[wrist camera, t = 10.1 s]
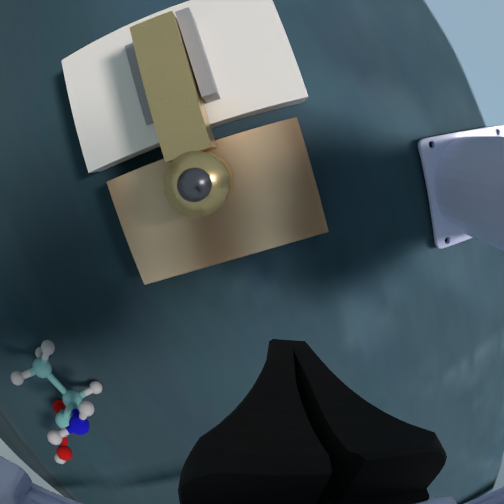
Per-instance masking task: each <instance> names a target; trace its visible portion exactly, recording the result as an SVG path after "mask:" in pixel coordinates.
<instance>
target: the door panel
mask: <svg viewBox="0 0 504 504" xmlns="http://www.w3.org/2000/svg"><path fill="white" fill-rule="evenodd" d="M170 11H172V12H173V13H174V15H175V17H176V18H177V21H178V24H179V27H180V30H181V33H182V36H183V40H184V43H185V46H186V49H187V52H188V55H189V59H190V62H191V65H192V68H193V71H194V75H195V78H196V81H197V84H198V87H199V90H200V94H201V97H202V98H203V102H204V105H205V108H206V112H207V115H208V119H209V122H210V125H211V128H214V127H217V126H221V125H224V124H227V123H230V122H233V121H237V120H240V119H243V118H247V117H250V116H253V115H257V114H260V113H264V112H268V111H271V110H275V109H279V108H283V107H287V106H291V105H295V104H299V103H303V102H304V101H305V100H306V99H307V98H308V94H307V91H306V88H305V85H304V82H303V79H302V76H301V74H300V71H299V68H298V65H297V62H296V60H295V57H294V54H293V51H292V49H291V46H290V43H289V41H288V38H287V36H286V33H285V30H284V28H283V25H282V23H281V20H280V18H279V15H278V13H277V11H276V8H275V6H274V3H273V1H272V0H190V1H187V2H184V3H181V4H178V5H176V6H173V7H170V8H167V9H165V10H162V11H160V12H157V13H155V14H152V15H150V16H147V17H145V18H142V19H140V20H138V21H136V22H133V23H131V24H129V25H127V26H124V27H122V28H120V29H118V30H116V31H114V32H112V33H110V34H108V35H106V36H104V37H102V38H100V39H98V40H96V41H94V42H93V43H91V44H89V45H87V46H85V47H83V48H82V49H80V50H78V51H76V52H75V53H73V54H71V55H70V56H68V57H66V58H65V59H63V60H61V61H62V66H63V72H64V77H65V82H66V87H67V92H68V96H69V101H70V105H71V110H72V114H73V118H74V122H75V126H76V130H77V134H78V138H79V142H80V145H81V149H82V152H83V156H84V159H85V163H86V166H87V170H88V173H92V172H100V171H104V170H106V169H108V168H110V167H113V166H115V165H117V164H119V163H122V162H124V161H126V160H129V159H131V158H134V157H136V156H138V155H141V154H143V153H146V152H148V151H151V150H153V149H156V148H158V147H160V143H159V140H158V136H157V133H156V129H155V126H154V122H153V118H152V115H151V111H150V108H149V104H148V100H147V96H146V93H145V89H144V85H143V81H142V77H141V73H140V69H139V65H138V61H137V57H136V53H135V49H134V45H133V41H132V36H131V32H130V28H129V27H132V26H134V25H136V24H139V23H141V22H143V21H146V20H148V19H151V18H153V17H156V16H159V15H161V14H164V13H167V12H170Z"/></svg>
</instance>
